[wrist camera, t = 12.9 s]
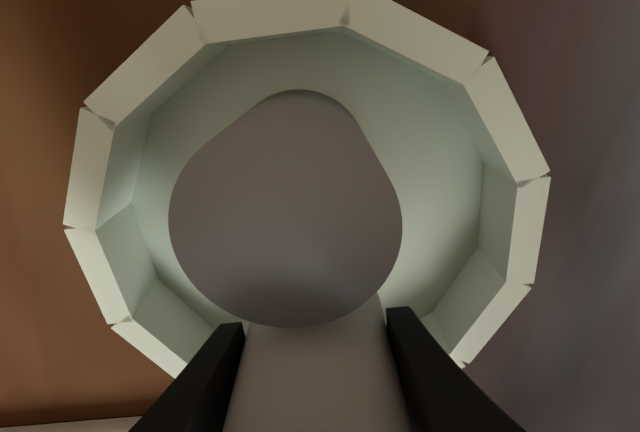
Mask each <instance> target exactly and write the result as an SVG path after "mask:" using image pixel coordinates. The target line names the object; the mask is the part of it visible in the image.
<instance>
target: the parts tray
mask: <svg viewBox="0 0 640 432" xmlns="http://www.w3.org/2000/svg"><path fill="white" fill-rule="evenodd" d="M141 417H142V416H137V417H125V418H113V419H101V420H89V421H77V422H65V423H53V424H41V425H29V426H17V427H5V428H0V432H128V431H129V430H130V429H131V428H132V427H133V426H134V425H135V424H136V423H137V421H138V420H139V419H140V418H141Z"/></svg>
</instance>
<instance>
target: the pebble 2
mask: <svg viewBox="0 0 640 432" xmlns="http://www.w3.org/2000/svg"><path fill="white" fill-rule="evenodd" d="M222 432H413V431H412V427H411V423H410V419H409V415H408V411H407V407H406V402H405V398H404V394H403V390H402V386H401V382H400V378H399V374H398V370H397V367H396V363H395V359H394V355H393V351H392V347H391V343H390V339H389V335H388V331H387V326H386V322H385V318H384V314H383V310H382V306H381V302H380V298H379V296H378V294H377V292H376V293H375V294H374V295H373V296H372V297H371V298H370V299H369V300H368V301H367V302H365V303H364V304H363V305H361V306H360V307H359V308H357V309H355V310H354V311H352V312H350V313H349V314H347V315H345V316H343V317H340V318H338V319H336V320H333V321H330V322H327V323H324V324H320V325H315V326H310V327H301V328H279V327H270V326H265V325H260V324H256V323H252V322H250V323H249V327H248V331H247V335H246V339H245V343H244V347H243V351H242V355H241V359H240V363H239V367H238V371H237V375H236V379H235V383H234V387H233V391H232V395H231V399H230V403H229V407H228V411H227V415H226V419H225V423H224V427H223V431H222Z"/></svg>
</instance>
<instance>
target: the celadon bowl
mask: <svg viewBox="0 0 640 432" xmlns="http://www.w3.org/2000/svg"><path fill="white" fill-rule="evenodd" d="M191 6H192V8H191V7H188V6H186V5H182V6H181V7H180V8H179V9H178V10H177V11H176V12H175V13H174V14H173V15H172V16H171V17H170V18H169V19H168V20H167V21H166V22H165V23H164V24H163V25H162V26H161V27H160V28H159V29H158V30H156V31H155V32H154V33H153V34H152V35H151V36H150V37H149V38H148V39H147V40H146V41H145V42H144V43H143V44H142V45H141V46H140V47H139V48H138V49H137V50H136V51H135V52H134V53H133V54H132V55H131V56H130V57H129V58H128V59H127V60H126V61H125V62H124V63H123V64H122V65H120V66H119V67H118V68H117V69H116V70H115V71H114V72H113V73H112V74H111V75H110V76H109V77H108V78H107V79H106V80H105V81H104V82H103V83H102V84H101V85H100V86H99V87H98V88H97V89H96V90H95V91H94V92H93V93H92V94H91V95H90V96H89V97H88V98H87V99H86V100H84V101H83V102H84V103H85V104H86V105H87V107H82V108H80V112H79V118H78V125H77V132H76V138H75V145H74V152H73V159H72V165H71V172H70V179H69V185H68V192H67V199H66V206H65V212H64V219H63V224H64V225H67V226H68V227H67V228H66V229H64V231H65V233H66V236H67V238H68V240H69V242H70V244H71V246H72V249H73V251H74V253H75V255H76V257H77V259H78V262H79V264H80V266H81V268H82V270H83V272H84V274H85V277H86V279H87V281H88V283H89V285H90V287H91V290H92V292H93V294H94V296H95V298H96V300H97V303H98V305H99V307H100V309H101V311H102V313H103V315H104V318H105V320H106V322H107V324H113V323H114V325H113V326H112V327H111V329H113V330H114V331H115V332H116V333H118V334H119V335H120V336H121V337H123V338H124V339H125V340H127V341H128V342H129V343H130V344H132V345H133V346H134V347H135V348H137V349H138V350H139V351H141V352H142V353H143V354H144V355H146V356H147V357H148V358H149V359H151V360H152V361H153V362H154V363H156V364H157V365H158V366H160V367H161V368H162V369H163V370H165V371H166V372H167V373H168V374H170V375H171V376H172V377H174V378H175V379H176V377H177V376H178V375H179V374H180V373H181V371H182V370H183V369H184V368H185V367H186V365H187V364H188V363H189V362H190V360H191V359H192V358H193V357H194V356H195V354H196V353H197V352H198V351H199V349H200V348H201V347H202V346H203V344H204V343H205V342H206V341H207V339H208V338H209V337H210V336H211V334H212V333H213V332H214V331H215V329H216V328H217V327H218V326H219V325H220V324H222V323H233V322H242V325H243V329H244V333H245V336H246V335H247V331H248V327H249V323H250V322H249V321H246V320H243V319H241V318H239V317H236V316H234V315H232V314H230V313H228V312H226V311H225V310H223V309H221V308H219V307H218V306H216V305H215V304H214V303H212V302H211V301H210V300H208V299H207V298H206V297H205V296H204V295H203V294H202V293H201V292H199V291H198V290H197V288H196V287H195V286H194V285H193V284H192V283H191V281H190V280H189V279H188V277H187V276H186V274H185V273H184V271H183V270H182V268H181V266H180V264H179V262H178V260H177V258H176V256H175V253H174V250H173V247H172V244H171V240H170V235H169V227H168V212H169V202H170V199H171V195H172V191H173V188H174V185H175V183H176V181H177V179H178V176H179V174H180V173H181V171H182V170H183V168H184V167H185V165H186V163H187V162H188V161H189V160H190V159H191V157H192V156H193V155H194V154H195V153H196V152H197V151H198V150H199V149H200V148H201V147H202V146H204V145H205V144H206V143H207V142H208V141H210V140H211V139H212V138H213V137H215V136H216V135H217V134H219V133H220V132H221V131H223V130H224V129H225V128H226V127H228V126H229V125H230V124H232V123H233V122H234V121H235V120H237V119H238V118H239V117H241V116H242V115H243V114H244V113H246V112H247V111H248V110H250V109H251V108H252V107H254V106H255V105H256V104H257V103H259V102H260V101H262V100H263V99H265V98H267V97H268V96H271V95H273V94H275V93H278V92H282V91H286V90H293V89H304V90H311V91H316V92H319V93H322V94H325V95H327V96H329V97H331V98H333V99H335V100H336V101H338V102H339V103H340V104H342V105H343V106H344V107H345V108H346V109H347V110H348V111H349V112H350V113H351V114H352V115H353V117H354V118H355V119H356V121H357V122H358V124H359V126H360V128H361V129H362V131H363V133H364V135H365V136H366V138H367V140H368V142H369V144H370V145H371V147H372V149H373V151H374V152H375V154H376V156H377V158H378V159H379V161H380V163H381V165H382V166H383V168H384V170H385V172H386V174H387V175H388V177H389V179H390V181H391V183H392V185H393V187H394V189H395V191H396V194H397V197H398V200H399V203H400V209H401V214H402V229H403V231H402V240H401V247H400V250H399V254H398V258H397V260H396V262H395V265H394V267H393V270H392V271H391V273H390V275H389V276H388V278H387V280H386V281H385V282H384V284H383V285H382V286H381V288H380V289H379V290H378V291H377V294H378V296H379V298H380V302H381V306H382V310H383V314H384V318H385V322H386V308H392V307H403V306H409V307H410V308H411V309H412V310H413V311H414V313H415V314H416V315H417V317H418V318H419V319H420V321H421V322H422V323H423V325H424V326H425V327H426V329H427V330H428V331H429V332H430V334H431V335H432V336H433V337H434V338H435V340H436V341H437V342H438V343H439V344H440V346H441V347H442V348H443V349H444V350H445V351H446V353H447V354H448V355H449V356H450V357H451V358H452V359H453V360H454V361H455V363H456V364H457V365H458V366H459V367H460V368H461V369H462V368H464V367H466V366H465V364H464V362H466V363H469V364H470V363H471V361H472V360H473V359H474V358H475V357H476V355H477V354H478V353H479V352H480V350H481V349H482V348H483V347H484V346H485V344H486V343H487V342H488V341H489V339H490V338H491V337H492V336H493V335H494V333H495V332H496V331H497V330H498V328H499V327H500V326H501V325H502V324H503V322H504V321H505V320H506V319H507V318H508V316H509V315H510V314H511V313H512V311H513V310H514V309H515V308H516V307H517V305H518V304H519V303H520V302H521V300H522V299H523V298H524V297H525V296H526V294H527V293H528V292H529V291H530V290H531V287H530V286H529V285H528V284H532V283H534V280H535V274H536V267H537V261H538V255H539V249H540V243H541V236H542V230H543V224H544V218H545V212H546V205H547V199H548V193H549V187H550V181H551V177H550V176H548V175H546V173H547V172H549V171H550V169H549V167H548V165H547V163H546V161H545V159H544V157H543V155H542V153H541V151H540V149H539V147H538V145H537V143H536V141H535V139H534V137H533V135H532V133H531V130H530V128H529V126H528V124H527V122H526V120H525V118H524V116H523V114H522V112H521V110H520V108H519V106H518V104H517V102H516V100H515V98H514V96H513V94H512V92H511V90H510V88H509V86H508V84H507V82H506V80H505V78H504V75H503V73H502V71H501V69H500V67H499V65H498V63H497V61H496V59H495V57H486V56H487V54H488V52H489V51H488V50H486V49H484V48H482V47H480V46H478V45H476V44H474V43H472V42H470V41H468V40H467V39H465V38H463V37H461V36H459V35H457V34H455V33H453V32H451V31H449V30H447V29H445V28H444V27H442V26H440V25H438V24H436V23H434V22H432V21H430V20H428V19H426V18H424V17H423V16H421V15H419V14H417V13H415V12H413V11H411V10H409V9H407V8H405V7H403V6H401V5H400V4H398V3H396V2H394V1H392V0H195V1H191ZM386 326H387V323H386Z"/></svg>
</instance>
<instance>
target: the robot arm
mask: <svg viewBox="0 0 640 432" xmlns="http://www.w3.org/2000/svg"><path fill="white" fill-rule="evenodd" d="M386 323H387V331H388V335H389V339H390V343H391V347H392V351H393V355H394V359H395V363H396V367H397V370H398V374H399V378H400V382H401V386H402V390H403V394H404V398H405V402H406V407H407V411H408V415H409V419H410V423H411V427H412V431H413V432H526V431H525V430H524V429H523V428H522V427H521V426H520V425H518V424H517V423H516V422H515V421H514V420H513V419H512V418H511V417H509V416H508V415H507V414H506V413H505V412H504V411H503V410H502V409H501V408H500V407H499V406H498V405H496V404H495V403H494V402H493V401H492V400H491V399H490V398H489V397H488V396H487V395H486V394H485V393H484V392H483V391H482V390H481V389H480V388H479V387H478V386H477V385H476V384H475V383H474V382H473V381H472V380H471V379H470V378H469V377H468V376H467V375H466V373H465V372H464V371H463V370H462V369H461V368H460V367H459V366H458V365H457V364H456V363H455V361H454V360H453V359H452V358H451V357H450V356H449V355H448V354H447V353H446V351H445V350H444V349H443V348H442V347H441V346H440V344H439V343H438V342H437V341H436V340H435V338H434V337H433V336H432V335H431V334H430V332H429V331H428V330H427V329H426V327H425V326H424V325H423V323H422V322H421V321H420V319H419V318H418V317H417V315H416V314H415V313H414V311H413V310H412V309H411V308H410V307H409V306H403V307H392V308H386ZM245 339H246V336H245V333H244V329H243V325H242V322H233V323H222V324H220V325H219V326H218V327H217V328H216V329H215V331H214V332H213V333H212V334H211V336H210V337H209V338H208V339H207V341H206V342H205V343H204V344H203V346H202V347H201V348H200V349H199V351H198V352H197V353H196V354H195V356H194V357H193V358H192V359H191V360H190V362H189V363H188V364H187V365H186V367H185V368H184V369H183V370H182V371H181V373H180V374H179V375H178V376H177V377H176V379H175V380H174V381H173V382H172V383H171V385H170V386H169V387H168V388H167V389H166V390H165V392H164V393H163V394H162V395H161V396H160V397H159V398H158V399H157V400H156V402H155V403H154V404H153V405H152V406H151V407H150V408H149V409H148V410H147V412H146V413H145V414H144V415H143V416H142V417H141V418H140V419H139V420H138V421H137V423H136V424H135V425H134V426H133V427H132V428H131V429H130V430H129V431H128V432H222V431H223V427H224V423H225V419H226V415H227V411H228V407H229V403H230V399H231V395H232V391H233V387H234V383H235V379H236V375H237V371H238V367H239V363H240V359H241V355H242V351H243V347H244V343H245Z"/></svg>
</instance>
